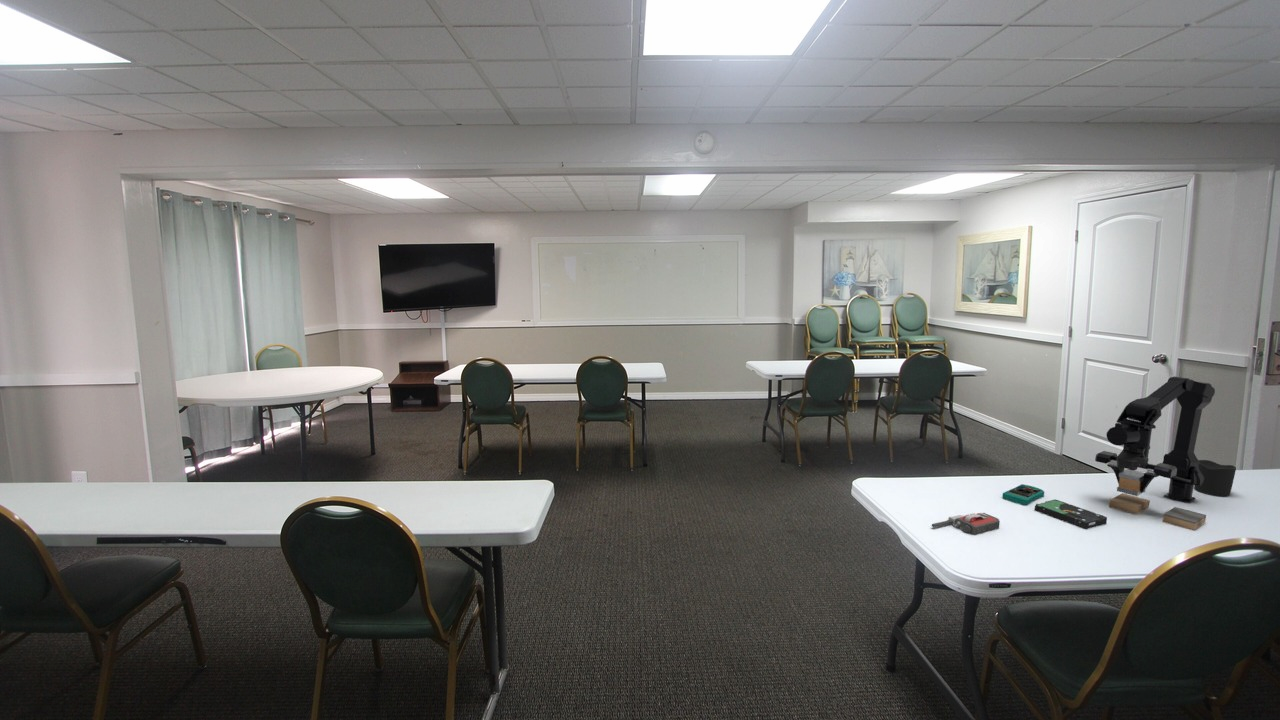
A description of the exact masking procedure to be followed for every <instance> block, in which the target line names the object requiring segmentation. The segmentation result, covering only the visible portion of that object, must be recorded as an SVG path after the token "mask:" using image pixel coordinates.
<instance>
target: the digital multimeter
mask: <svg viewBox="0 0 1280 720" xmlns="http://www.w3.org/2000/svg"><path fill="white" fill-rule="evenodd" d="M1044 497H1045V491H1044V489H1042V488H1038V487H1036V486H1032V485H1028V484H1020V485H1018V486H1015V487H1014V488H1011V489H1009V490H1006V491H1003V492H1002V497H1001V498H1002V499H1003V500H1005V501H1008V502H1012V503H1015V504H1018V505H1022V506H1028V505H1030V504H1031V503H1033V502H1035V501H1037V500H1039V499H1041V498H1044Z"/></svg>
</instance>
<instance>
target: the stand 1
mask: <svg viewBox="0 0 1280 720" xmlns="http://www.w3.org/2000/svg"><path fill="white" fill-rule="evenodd" d="M1150 502H1151V500H1149V499H1146V498H1143V497H1140V496H1135V495H1131V494H1127V493H1123V492H1121V493H1120V494H1118V495H1116V496H1114V497H1112V498H1110V499H1109V506H1108V507H1109V508H1112V509H1115V510H1119V511H1123V512H1127V513H1130V514H1134V515H1139V514H1141V513H1143V512H1144V511H1146V510H1148V509H1149V508H1150Z"/></svg>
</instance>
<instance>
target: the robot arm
mask: <svg viewBox="0 0 1280 720" xmlns="http://www.w3.org/2000/svg"><path fill="white" fill-rule="evenodd" d="M1215 395H1216V390H1215V387H1213V386H1212V384H1211V383H1208V382H1202V381H1197V380H1193V379H1190V378H1188V377H1181V376H1170V377H1169V378H1168V379H1167V382H1165V383H1163V384H1162V385H1161V386H1160V387H1158V388H1157V389H1156V390H1155V391H1153V392H1152V393H1151V394H1149V395H1148V396H1145V397H1143V398H1137V399H1134V400H1132V401H1130V402H1129V403H1127V404H1126V405H1125V406H1124V409H1123V410H1122V411H1121V413H1120V415H1119V416H1118V418H1117V420H1116V422H1115V424H1114V426H1113V427H1110V428H1109V429H1108V430H1107V432H1106V433H1105V434H1106V439H1107V440H1108V442H1110V444H1112V445H1114V446H1123V449H1122V450H1121V452H1120V453H1119V454H1117V453H1116V452H1111V451H1106V450H1103V451H1101V452H1098V453H1096V454H1095V459H1094V461H1095V462H1097V463H1101V464H1105V465H1107V467H1108V468H1110V469H1112V471H1113V472H1114V474H1115V475H1114V476H1115V477H1116V482H1117V484H1118V485H1119V480H1120V477H1119V473H1120V472H1122V471H1125V470H1127V469H1129V470H1134V471H1137V470H1138V468H1140V469H1143V470H1146V472H1143V473H1144V479H1143V483H1142V486H1141V493H1142V494H1143V492H1144V491H1145V492H1146V489H1147V488H1148V486H1150V483H1151V482H1152V481H1153V479H1155V478H1159V477H1162V478H1167V479H1169V485H1168V492H1166V493H1165V494H1163V497H1164V498H1168V499H1172V500H1177V501H1180V502H1185V503H1189V504H1190V503H1192V502H1194V501H1195V500H1196V497H1194V496H1193V493H1194V485H1199V486H1201V484H1202V483H1203V481H1204V477H1203V475H1202V473H1201V472H1200V470H1199V461H1198V460H1199V459H1198V458H1197V455H1196V454H1195V448H1196V444H1197V437H1198V433H1199V427H1200V422H1201V418H1202V412H1203V409H1205V408H1206V407H1207V406H1208V405H1209V404H1210V403H1211V402H1212V400H1213V397H1214V396H1215ZM1174 400H1177V402H1178V404H1179V405H1180V412H1179V417H1178V423H1177V428H1176V433H1175V439H1174V445H1173V449H1172V450H1171V451H1169V452H1168V453H1165V454H1164V455H1163V460H1162V462H1158V463H1157V464H1153V463H1149V452H1150V450H1151V438H1152V433H1153V432H1152V431H1153V429H1156V428H1157V427H1156V425H1155V423H1156V421H1158V420H1159V418H1160V417H1161V416H1162V410H1163V409H1164V408H1165V407H1167V406H1168V405H1169V404H1170V403H1172V402H1173V401H1174ZM1145 492H1144V493H1145Z"/></svg>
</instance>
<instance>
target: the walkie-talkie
mask: <svg viewBox="0 0 1280 720" xmlns="http://www.w3.org/2000/svg"><path fill="white" fill-rule="evenodd" d="M1000 523H1001V521H1000V519H999V518H997V516H992V515H991V514H988V513H986V512H979V513H975V512H972V513H970V514H969V513H968V514H965V515H961V514H958V515H954V516H948V519H947V520H944V521H940V522H934V523H932V524H931V527H932V528H937V527H941V526H947V525H952V526H953V527H954V528H957V529H960V530H962V531H964V532H965V533H967V534H968V533H969V534H970V535H972V536H973V535H974V536H977V535H981V534H985V533H987V532H991V531H996V530H999V529H1000Z"/></svg>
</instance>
